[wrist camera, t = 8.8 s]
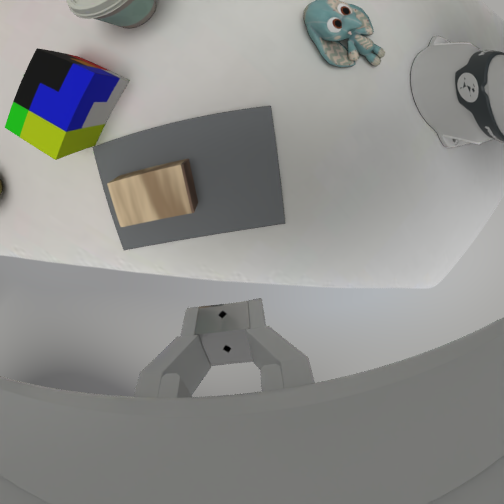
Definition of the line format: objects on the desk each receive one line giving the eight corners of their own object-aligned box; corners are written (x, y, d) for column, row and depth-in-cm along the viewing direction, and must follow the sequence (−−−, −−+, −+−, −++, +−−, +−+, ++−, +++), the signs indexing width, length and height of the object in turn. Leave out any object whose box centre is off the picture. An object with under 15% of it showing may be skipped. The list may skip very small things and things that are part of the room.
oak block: (183, 164, 29) (107, 183, 30) (194, 212, 32) (120, 227, 32) (188, 158, 33) (119, 175, 33) (198, 202, 36) (130, 215, 36)
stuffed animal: (384, 91, 25) (302, 30, 20) (352, 87, 31) (279, 39, 26) (414, 33, 21) (342, -29, 16) (381, 35, 27) (315, -14, 22)
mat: (270, 105, 31) (270, 105, 30) (284, 222, 38) (285, 223, 38) (94, 146, 31) (92, 147, 31) (124, 249, 39) (123, 250, 38)
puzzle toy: (129, 80, 28) (95, 73, 19) (95, 145, 31) (55, 159, 22) (78, 56, 24) (37, 48, 16) (48, 118, 28) (4, 127, 19)
